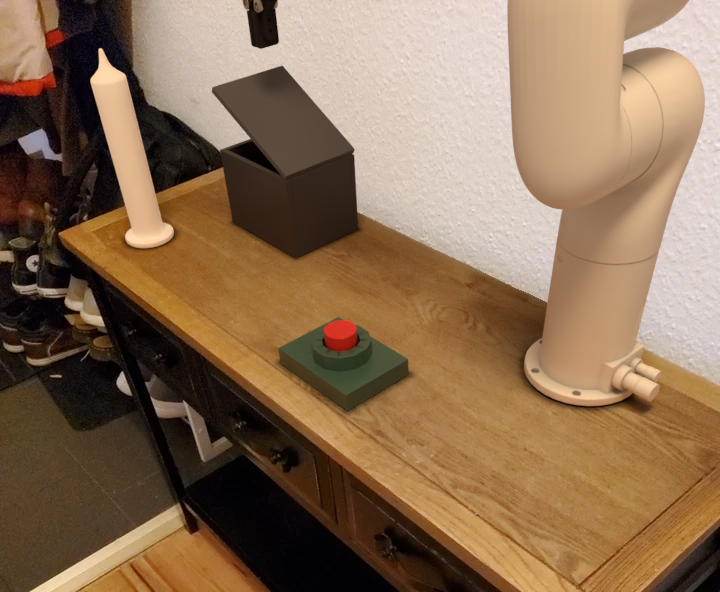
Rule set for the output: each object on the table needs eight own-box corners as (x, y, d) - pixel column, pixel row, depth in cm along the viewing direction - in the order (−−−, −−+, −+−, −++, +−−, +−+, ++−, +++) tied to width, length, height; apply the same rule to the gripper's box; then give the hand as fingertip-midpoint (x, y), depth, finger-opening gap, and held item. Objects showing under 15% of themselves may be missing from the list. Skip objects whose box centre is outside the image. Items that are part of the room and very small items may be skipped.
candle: (182, 238, 109) (137, 48, 91) (137, 253, 106) (82, 61, 88) (162, 221, 113) (116, 36, 95) (119, 235, 110) (63, 48, 92)
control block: (408, 375, 83) (408, 345, 80) (347, 411, 79) (345, 381, 76) (339, 332, 90) (337, 303, 87) (280, 363, 86) (275, 334, 83)
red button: (364, 342, 81) (363, 329, 80) (339, 356, 80) (338, 342, 79) (343, 329, 83) (342, 316, 82) (318, 342, 82) (317, 329, 81)
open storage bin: (232, 222, 111) (219, 149, 104) (293, 197, 116) (285, 126, 109) (295, 258, 103) (286, 181, 95) (358, 229, 108) (354, 154, 100)
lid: (211, 92, 98) (212, 87, 97) (281, 70, 103) (282, 65, 102) (285, 180, 95) (286, 175, 94) (353, 153, 100) (355, 149, 99)
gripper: (311, -145, 78) (325, 49, 91) (232, -150, 87) (255, 28, 100) (253, -135, 75) (276, 64, 88) (176, -142, 83) (208, 41, 96)
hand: (265, 44), depth 94 cm, fingers closed
